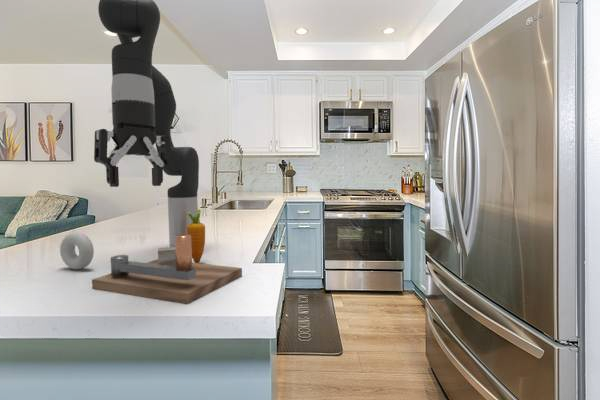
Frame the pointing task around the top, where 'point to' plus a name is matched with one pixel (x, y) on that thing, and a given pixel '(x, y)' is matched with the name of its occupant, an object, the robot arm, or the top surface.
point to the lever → (180, 271)
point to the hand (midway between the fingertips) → (136, 186)
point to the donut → (70, 255)
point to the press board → (170, 281)
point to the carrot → (196, 236)
